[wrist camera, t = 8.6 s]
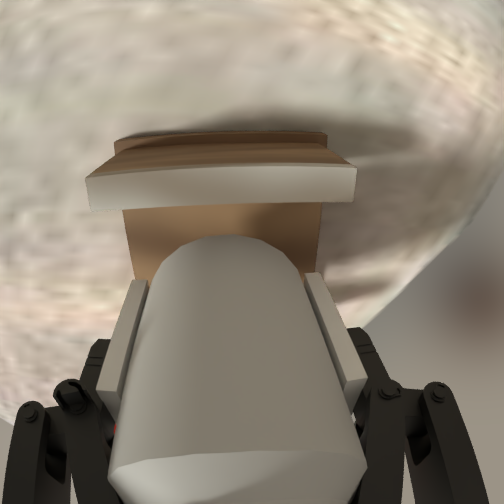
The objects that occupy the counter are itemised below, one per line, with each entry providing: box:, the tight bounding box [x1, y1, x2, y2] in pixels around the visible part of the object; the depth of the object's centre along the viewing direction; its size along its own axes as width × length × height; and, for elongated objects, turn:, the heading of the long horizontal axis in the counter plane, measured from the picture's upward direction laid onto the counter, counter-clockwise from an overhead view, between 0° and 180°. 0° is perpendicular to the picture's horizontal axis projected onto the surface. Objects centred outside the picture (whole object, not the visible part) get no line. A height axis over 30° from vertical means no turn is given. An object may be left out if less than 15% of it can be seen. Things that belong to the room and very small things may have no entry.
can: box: [107, 234, 368, 504], centre depth 11 cm, size 8×8×12 cm
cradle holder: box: [85, 131, 357, 289], centre depth 18 cm, size 14×12×7 cm
